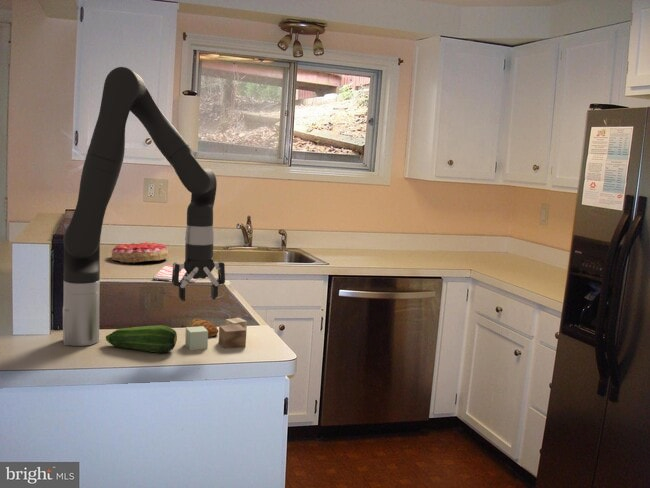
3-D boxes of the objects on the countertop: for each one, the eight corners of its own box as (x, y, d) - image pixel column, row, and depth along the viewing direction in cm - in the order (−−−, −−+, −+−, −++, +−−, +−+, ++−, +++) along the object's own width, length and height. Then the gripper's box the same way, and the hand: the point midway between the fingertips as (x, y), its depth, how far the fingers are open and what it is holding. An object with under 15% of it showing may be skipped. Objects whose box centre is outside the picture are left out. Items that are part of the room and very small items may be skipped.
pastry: (223, 335, 197) (224, 322, 196) (207, 339, 191) (207, 327, 191) (201, 328, 202) (202, 316, 202) (185, 332, 197) (185, 320, 196)
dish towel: (203, 272, 287) (203, 264, 286) (194, 284, 264) (195, 275, 263) (163, 270, 286) (163, 262, 286) (151, 281, 263) (151, 273, 263)
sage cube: (189, 350, 181) (190, 332, 180) (185, 344, 185) (185, 327, 184) (207, 348, 183) (208, 331, 182) (202, 343, 187) (203, 326, 187)
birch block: (233, 337, 194) (234, 323, 193) (225, 334, 197) (225, 319, 197) (246, 335, 197) (246, 321, 196) (238, 332, 200) (238, 317, 200)
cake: (169, 263, 296) (169, 245, 295) (110, 265, 289) (110, 247, 288) (167, 257, 319) (167, 240, 319) (113, 258, 313) (112, 242, 312)
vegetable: (173, 324, 174) (103, 317, 178) (168, 351, 172) (96, 344, 175) (182, 330, 181) (114, 323, 184) (177, 356, 179) (109, 349, 182)
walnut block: (224, 349, 183) (225, 331, 183) (218, 342, 189) (219, 325, 188) (245, 347, 186) (246, 330, 185) (238, 341, 191) (239, 324, 191)
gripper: (176, 244, 173) (175, 304, 176) (228, 243, 180) (227, 301, 182) (170, 240, 180) (169, 298, 182) (220, 239, 186) (219, 295, 189)
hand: (198, 299), depth 182 cm, fingers open, 8 cm apart
